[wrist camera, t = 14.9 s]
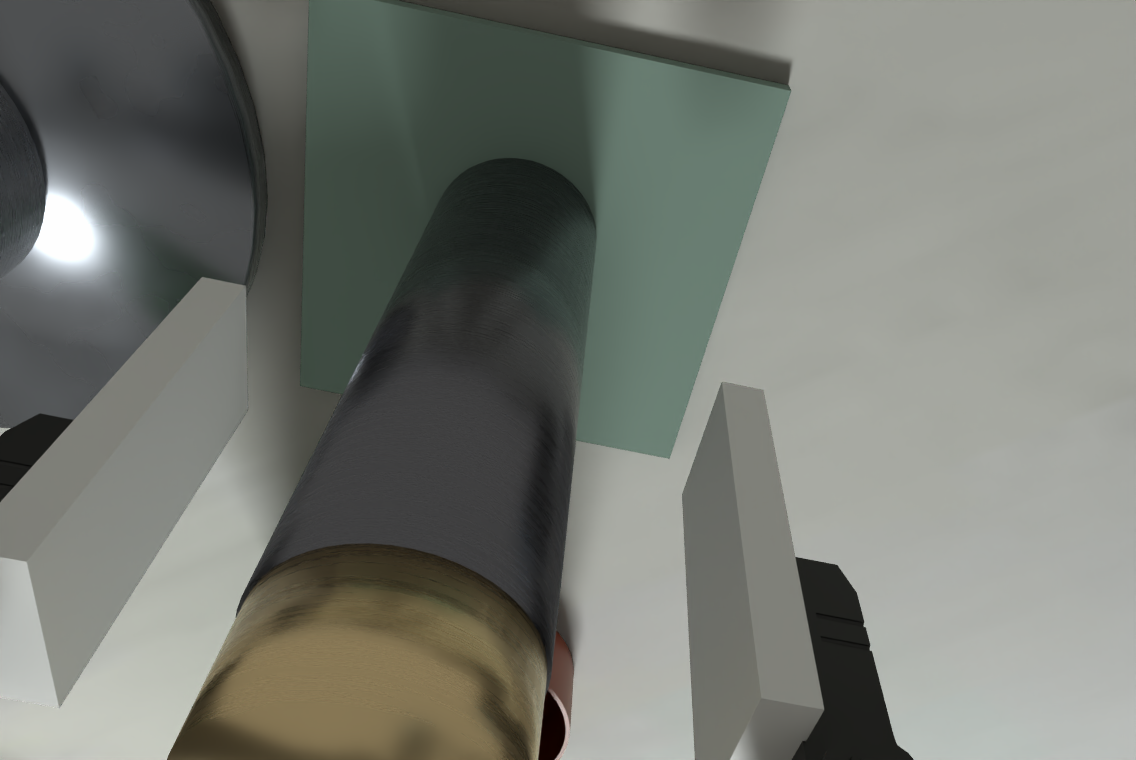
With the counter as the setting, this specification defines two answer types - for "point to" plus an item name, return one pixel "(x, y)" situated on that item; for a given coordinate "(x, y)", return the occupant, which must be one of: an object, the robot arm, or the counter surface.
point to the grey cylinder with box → (18, 187)
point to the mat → (547, 136)
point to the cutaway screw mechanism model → (557, 704)
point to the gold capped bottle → (427, 507)
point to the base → (122, 186)
